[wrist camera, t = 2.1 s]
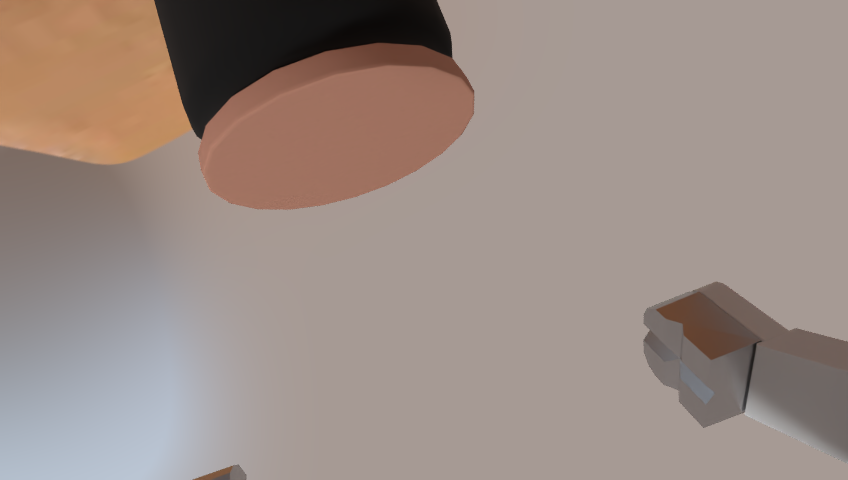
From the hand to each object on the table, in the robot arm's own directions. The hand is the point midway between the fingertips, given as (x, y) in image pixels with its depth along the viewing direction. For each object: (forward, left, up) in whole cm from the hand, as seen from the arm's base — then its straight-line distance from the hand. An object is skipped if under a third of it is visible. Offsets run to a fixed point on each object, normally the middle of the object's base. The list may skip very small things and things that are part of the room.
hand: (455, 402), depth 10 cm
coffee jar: (+8, 0, -28) cm, 29 cm away
